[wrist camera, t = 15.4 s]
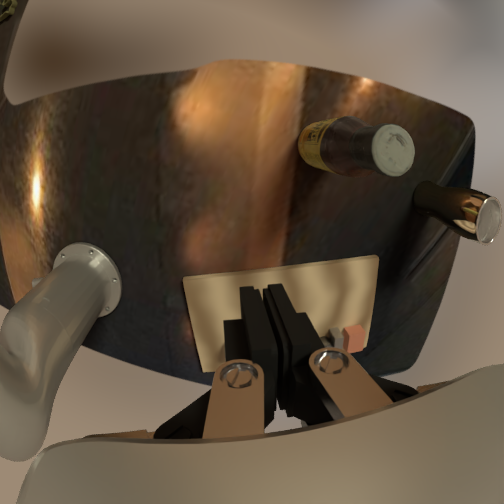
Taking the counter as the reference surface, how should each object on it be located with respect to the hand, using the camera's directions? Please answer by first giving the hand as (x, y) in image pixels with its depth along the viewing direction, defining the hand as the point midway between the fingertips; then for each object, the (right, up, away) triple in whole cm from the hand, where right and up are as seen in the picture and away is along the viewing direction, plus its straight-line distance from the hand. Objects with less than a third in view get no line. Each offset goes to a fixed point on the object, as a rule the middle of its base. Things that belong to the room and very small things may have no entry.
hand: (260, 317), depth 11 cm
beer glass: (+29, +12, +29) cm, 43 cm away
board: (+5, -8, +33) cm, 35 cm away
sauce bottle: (+8, +17, +25) cm, 31 cm away
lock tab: (+17, -12, +35) cm, 41 cm away
